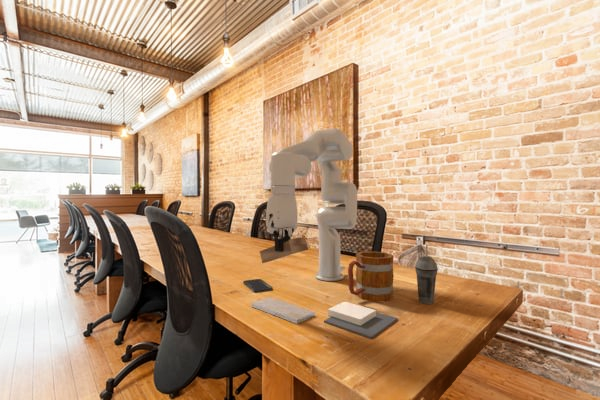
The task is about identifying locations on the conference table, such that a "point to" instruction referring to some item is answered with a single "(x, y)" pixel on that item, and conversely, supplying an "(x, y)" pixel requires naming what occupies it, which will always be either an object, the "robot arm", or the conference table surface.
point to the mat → (365, 325)
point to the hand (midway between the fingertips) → (282, 250)
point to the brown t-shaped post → (284, 249)
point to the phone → (257, 285)
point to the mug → (372, 276)
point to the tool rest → (283, 310)
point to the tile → (352, 313)
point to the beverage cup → (426, 278)
